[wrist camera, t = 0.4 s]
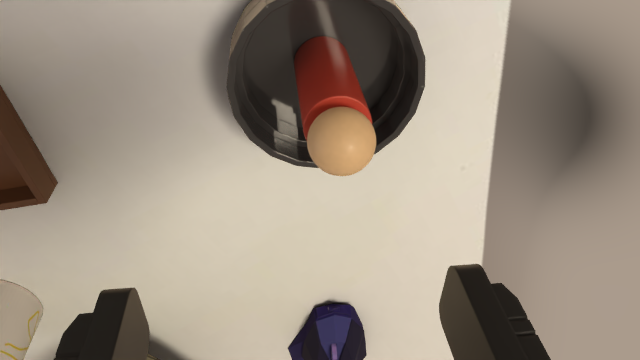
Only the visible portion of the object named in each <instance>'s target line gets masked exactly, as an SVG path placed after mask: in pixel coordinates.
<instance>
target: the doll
mask: <svg viewBox="0 0 640 360" xmlns="http://www.w3.org/2000/svg"><path fill="white" fill-rule="evenodd" d="M294 69H295V76H296V83H297V90H298V97H299V104H300V111H301V118H302V126H303V132H304V136H305V139H306V140H307V147H308V151H309V154H310V157H311V158H312V160H313V162H314V163H315V164H316V165H317V166H318V167H319V168H320V169H321V170H323V171H324V172H326V173H329V174H331V175H336V176H347V175H352V174H354V173H357V172H359V171H360V170H362V169H363V168H364V167H365V166H366V165H367V164H368V163H369V162H370V160H371V159H372V157H373V155H374V152H375V148H376V134H375V130H374V128H373V126H372V118H371V114H370V111H369V109H368V106H367V103H366V101H365V98H364V95H363V93H362V90H361V87H360V85H359V82H358V79H357V77H356V74H355V71H354V69H353V66H352V63H351V61H350V58H349V55H348V53H347V50H346V49H345V47H344V46H343V45H342V44H341V43H340V42H339V41H337V40H336V39H334V38H331V37H326V36H320V37H315V38H312V39H310V40H308V41H306V42H305V43H304V44H302V45H301V47H300V48H299V49H298V51H297V53H296V55H295V59H294Z"/></svg>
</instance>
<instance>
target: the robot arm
mask: <svg viewBox="0 0 640 360" xmlns="http://www.w3.org/2000/svg"><path fill="white" fill-rule="evenodd" d="M439 313H440V320H441V324H442V327H443V330H444V333H445V335H446V338H447V341H448V344H449V346H450V349H451V352H452V355H453V357H454V360H551V359H550V357H549V356H548V354H547V352H546V350H545V348H544V346H543V344H542V343H541V341H540V339H539V337H538V335H536V334H535V330H534V328H533V326H532V324H531V322H530V320H528V319H527V315H526V313H525V311H524V310H523V308H522V306H521V304H520V302H519V300H518V298H517V297H516V296H515V295H513V294H512V293H511V292H510V291H509V290H508V289H507V288H506V287H505V286H504V285H503V284H502V283H496V284H491V283H490V281H489V279H488V277H487V275H486V273H485V271H484V269H483V268H482V267H481V266H480V265H479V264H471V265H457V266H450V267H449V268H448V271H447V275H446V279H445V283H444V287H443V291H442V295H441V299H440V303H439ZM148 349H149V326H148V322H147V319H146V316H145V313H144V310H143V307H142V304H141V301H140V298H139V295H138V292H137V290H136V289H135V288H123V289H109V290H103V291H101V293H100V294H99V297H98V300H97V303H96V306H95V309H94V312H93V313H85V314H79V315H78V316H77V317H76V319H75V320H74V321H73V322H72V323H71V325H70V326H69V327H68V328H67V329H66V331H65V332H64V333H63V336H62V338H61V341H60V344H59V346H58V349H57V352H56V358H54V360H146V359H147V354H148Z"/></svg>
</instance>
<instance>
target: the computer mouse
mask: <svg viewBox="0 0 640 360" xmlns="http://www.w3.org/2000/svg"><path fill="white" fill-rule="evenodd" d="M288 349H289V352H290V355H291V357H292V360H363V359H364V358H365V356H366V343H365V336H364V330H363V326H362V323H361V321H360V319H359V317H358V315H357V313H356V311H355V309H354V307H352V306H351V305H339V304H329V305H325V306H321V307H317V308H313V310H312V312H311V314H310V317H309V319H308V321H307V323H306V324H305V325H304V327H303V328H302V330H301V331H300V332H299V334H298V335H297V336H296V338H295V339H294V341H293V342H292V343H291V345H290V346H289V348H288Z"/></svg>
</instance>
